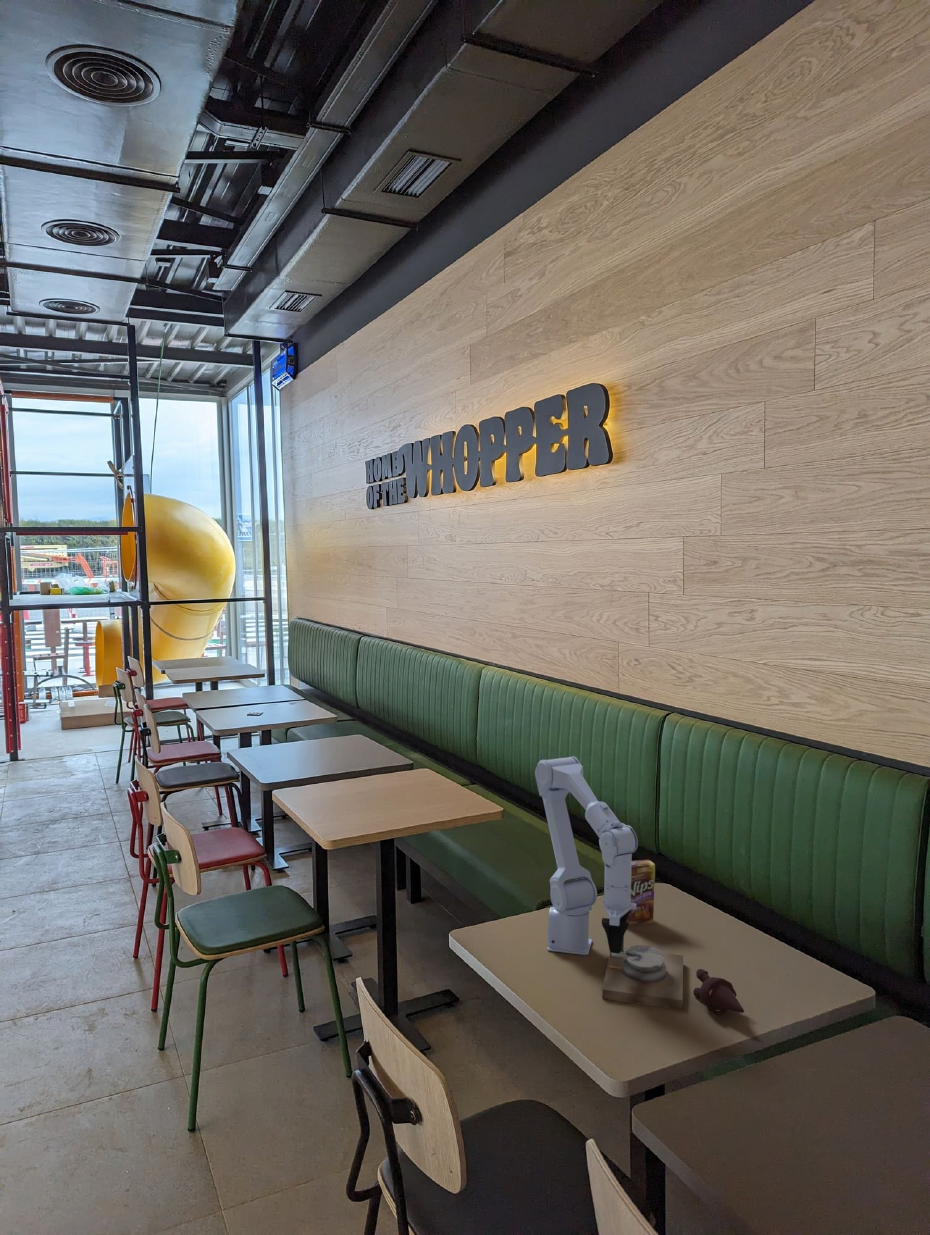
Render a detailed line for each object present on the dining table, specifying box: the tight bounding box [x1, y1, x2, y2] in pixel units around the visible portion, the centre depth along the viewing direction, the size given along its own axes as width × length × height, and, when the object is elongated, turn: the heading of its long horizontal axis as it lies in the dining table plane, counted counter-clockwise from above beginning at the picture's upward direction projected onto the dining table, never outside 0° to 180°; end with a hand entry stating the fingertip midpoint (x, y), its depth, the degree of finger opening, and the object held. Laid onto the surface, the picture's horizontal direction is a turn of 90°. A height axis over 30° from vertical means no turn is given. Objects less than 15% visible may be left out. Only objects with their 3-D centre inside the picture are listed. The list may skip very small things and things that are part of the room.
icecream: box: [692, 968, 745, 1015], centre depth 166 cm, size 7×7×15 cm
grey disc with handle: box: [611, 936, 664, 973], centre depth 179 cm, size 11×8×6 cm
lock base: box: [601, 951, 684, 1011], centre depth 178 cm, size 16×20×4 cm
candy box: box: [626, 859, 656, 926], centre depth 208 cm, size 9×4×15 cm, turn 102°
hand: (616, 944), depth 179 cm, fingers open, 7 cm apart
